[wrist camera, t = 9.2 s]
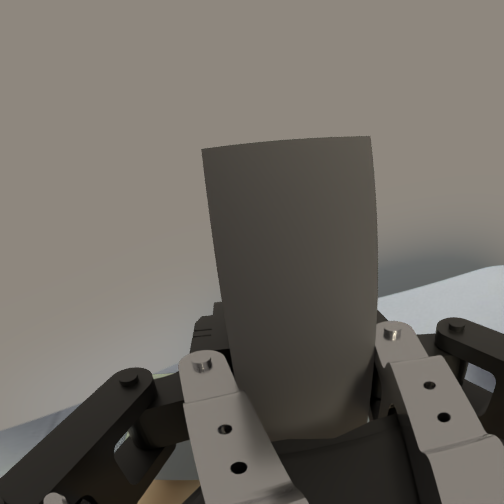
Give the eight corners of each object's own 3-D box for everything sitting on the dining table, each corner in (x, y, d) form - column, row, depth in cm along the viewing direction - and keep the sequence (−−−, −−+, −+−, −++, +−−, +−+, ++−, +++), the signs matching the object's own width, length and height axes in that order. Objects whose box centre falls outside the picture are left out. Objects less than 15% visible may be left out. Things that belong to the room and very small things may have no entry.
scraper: (145, 533, 9) (-5, 196, 6) (159, 453, 14) (82, 185, 11) (452, 477, 10) (519, 144, 6) (408, 413, 15) (425, 149, 12)
